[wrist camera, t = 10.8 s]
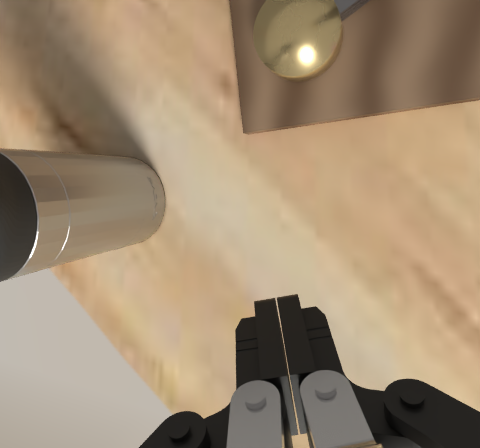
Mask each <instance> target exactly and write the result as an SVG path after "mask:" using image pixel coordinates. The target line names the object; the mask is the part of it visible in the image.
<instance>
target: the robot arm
mask: <svg viewBox="0 0 480 448" xmlns="http://www.w3.org/2000/svg"><path fill="white" fill-rule="evenodd" d="M164 211H165V195H164V190H163V186H162V184H161V182H160V179H159V178H158V176H157V175H156V173H155V172H154V171H153V170H152V169H151V168H150V167H149V166H148V165H147V164H146V163H144V162H142V161H141V160H138V159H135V158H132V157H121V156H108V155H95V154H80V153H66V152H51V151H36V150H17V149H2V148H0V282H1V281H4V280H8V279H11V278H15V277H19V276H22V275H26V274H29V273H33V272H37V271H39V270H43V269H47V268H50V267H54V266H57V265H61V264H65V263H68V262H72V261H75V260H79V259H82V258H86V257H90V256H93V255H97V254H100V253H104V252H108V251H111V250H115V249H119V248H122V247H126V246H129V245H133V244H136V243H140V242H143V241H144V240H146V239H148V238H149V237H151V236H152V235H153V234H154V233H155V232H156V230H157V229H158V227H159V226H160V224H161V221H162V219H163V216H164ZM277 302H278V308H279V314H280V320H281V326H282V332H283V338H284V344H285V350H286V356H287V362H288V368H289V374H290V380H291V385H292V391H293V396H294V402H295V407H296V412H297V418H298V423H299V429H300V434H305V433H307V435H308V441H309V446H310V448H480V412H479V411H477V410H475V409H473V408H471V407H469V406H468V405H466V404H464V403H462V402H460V401H458V400H456V399H455V398H453V397H451V396H449V395H447V394H445V393H443V392H442V391H440V390H438V389H436V388H434V387H432V386H430V385H429V384H427V383H424V382H422V381H419V380H415V379H401V380H397V381H394V382H393V383H391V384H390V385H388V387H387V388H386V389H385V391H379V390H371V389H366V388H362V387H360V386H357V385H355V384H354V383H352V382H351V381H350V380H349V379H348V378H347V377H346V376H345V374H344V372H343V370H342V366H341V363H340V360H339V357H338V354H337V351H336V347H335V344H334V341H333V338H332V335H331V332H330V329H329V325H328V322H327V319H326V316H325V314H323V313H322V312H321V311H320V310H319V309H318V308H317V307H316V306H315V307H309V308H303V309H301V306H300V302H299V297H298V294H296V295H290V296H284V297H278V298H277ZM254 305H255V317H249V318H243V319H241V321H240V322H239V324H238V326H237V328H236V391H235V392H234V394H233V396H232V398H231V402H230V403H229V405H228V406H226V407H225V408H224V409H223V410H221V411H219V412H218V413H216V414H213V415H211V416H209V417H207V418H205V419H203V418H202V417H201V416H200V415H199V414H197V413H195V412H191V411H184V412H179V413H176V414H174V415H172V416H170V417H169V418H167V419H166V420H165V421H164V422H163V423H162V424H161V425H160V426H159V427H158V428H157V429H156V430H155V431H154V432H153V433H152V434H151V435H150V436H149V438H147V440H146V441H145V442H144V443H143V444H142V445H141V446H140V447H139V448H293V444H292V437H291V436H292V435H298V430H297V424H296V418H295V412H294V405H293V399H292V393H291V387H290V381H289V374H288V368H287V362H286V356H285V350H284V344H283V338H282V333H281V327H280V322H279V317H278V311H277V306H276V300H275V298H272V299H266V300H260V301H254Z"/></svg>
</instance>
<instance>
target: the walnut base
mask: <svg viewBox="0 0 480 448" xmlns="http://www.w3.org/2000/svg"><path fill="white" fill-rule="evenodd" d="M265 1H266V0H230V9H231V18H232V28H233V38H234V47H235V57H236V67H237V76H238V86H239V96H240V105H241V115H242V125H243V133H245V134H254V133H261V132H268V131H274V130H281V129H288V128H295V127H301V126H308V125H315V124H322V123H328V122H335V121H342V120H348V119H355V118H362V117H369V116H375V115H382V114H389V113H395V112H402V111H409V110H416V109H422V108H429V107H436V106H443V105H449V104H456V103H463V102H469V101H476V100H480V0H370V1H369V2H367V3H366V4H365V5H363V6H362V7H361V8H359V9H358V10H357V11H355V12H354V13H353V14H351V15H350V16H349V17H347V18H346V19H345V20H343V21H342V25H343V43H342V47H341V50H340V53H339V55H338V57H337V58H336V60H335V62H334V63H333V64H332V66H331V67H330V68H329V69H328V70H327V71H325V72H324V73H323V74H321V75H320V76H318V77H316V78H314V79H311V80H308V81H303V82H292V81H288V80H285V79H282V78H280V77H279V76H277V75H276V74H275V73H273V72H272V71H271V70H270V69H269V68H268V67H267V66H266V65H265V64H264V63H263V62H262V61H261V59H260V58H259V56H258V54H257V52H256V49H255V46H254V39H253V30H254V24H255V20H256V17H257V15H258V12H259V10H260V9H261V7H262V6H263V4H264V3H265Z"/></svg>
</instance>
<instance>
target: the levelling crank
mask: <svg viewBox="0 0 480 448" xmlns="http://www.w3.org/2000/svg"><path fill="white" fill-rule="evenodd" d="M369 1H370V0H266V1H265V3H264V4H263V6H262V7H261V9H260V10H259V12H258V15H257V17H256V20H255V24H254V30H253V39H254V46H255V49H256V52H257V54H258V56H259V58H260V59H261V61H262V62H263V63H264V64H265V65H266V66H267V67H268V68H269V69H270V70H271V71H272V72H273V73H275V74H276V75H277V76H279V77H280V78H282V79H285V80H288V81H292V82H303V81H308V80H311V79H314V78H316V77H318V76H320V75H321V74H323V73H324V72H325V71H327V70H328V69H329V68H330V67H331V66H332V64H333V63H334V62H335V60H336V58H337V57H338V55H339V53H340V50H341V47H342V43H343V25H342V21H343V20H345V19H346V18H347V17H349V16H350V15H351V14H353V13H354V12H355V11H357V10H358V9H359V8H361V7H362V6H363V5H365V4H366V3H367V2H369Z"/></svg>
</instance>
